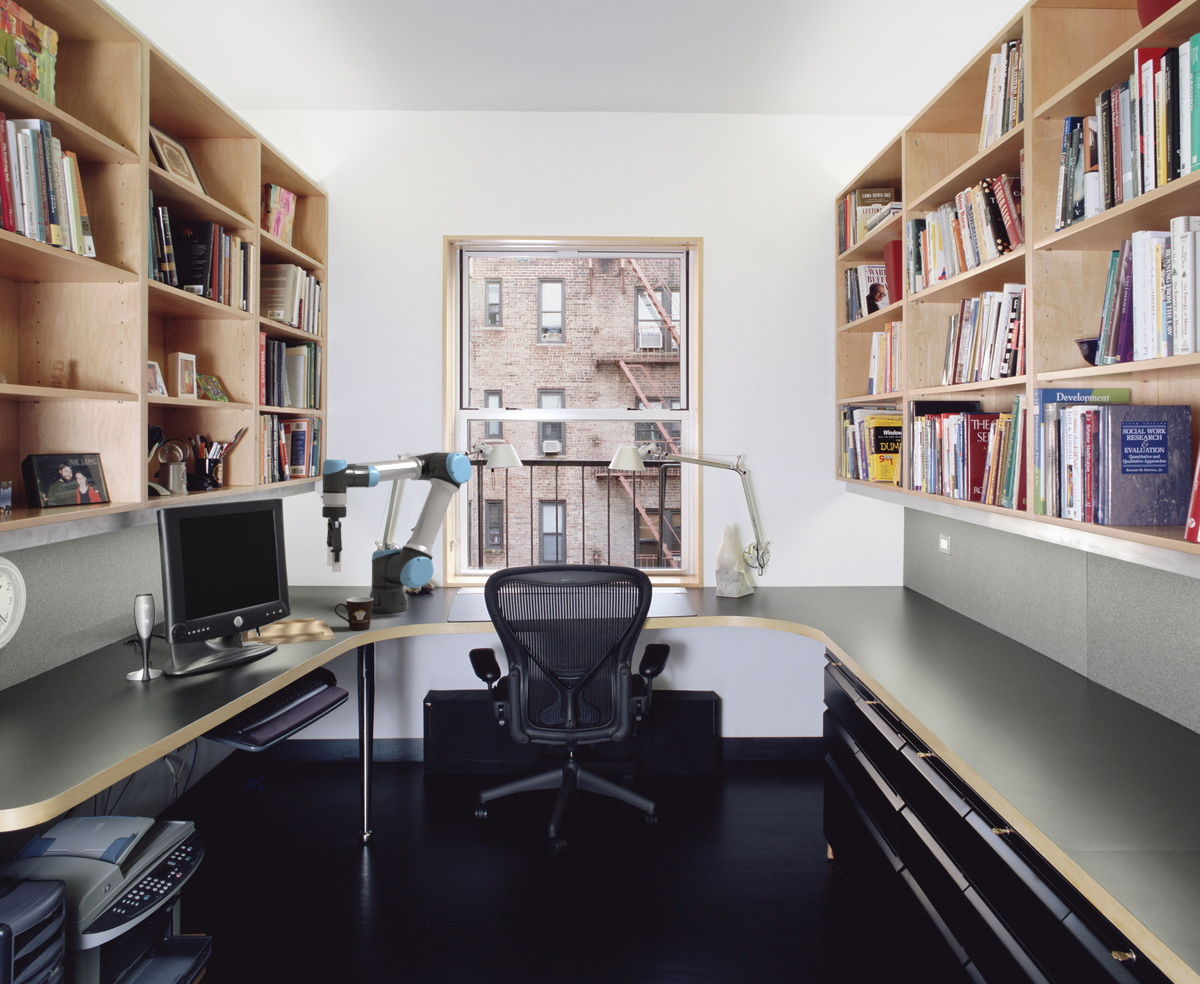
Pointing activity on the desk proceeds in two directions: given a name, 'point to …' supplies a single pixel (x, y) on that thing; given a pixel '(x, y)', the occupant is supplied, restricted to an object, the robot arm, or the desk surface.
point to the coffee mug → (358, 613)
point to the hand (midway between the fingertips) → (333, 568)
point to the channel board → (291, 632)
